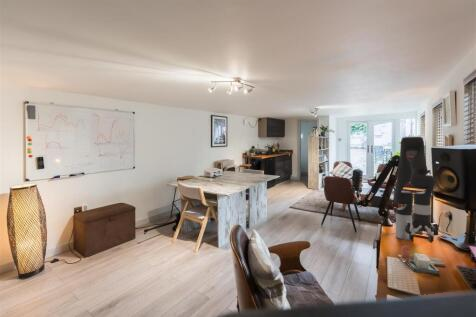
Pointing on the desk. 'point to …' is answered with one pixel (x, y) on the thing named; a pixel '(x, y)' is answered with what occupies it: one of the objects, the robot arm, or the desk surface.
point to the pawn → (405, 252)
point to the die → (421, 261)
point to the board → (432, 260)
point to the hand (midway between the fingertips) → (421, 241)
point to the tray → (431, 269)
